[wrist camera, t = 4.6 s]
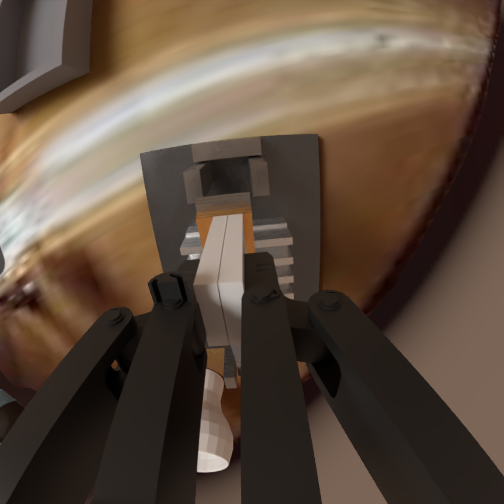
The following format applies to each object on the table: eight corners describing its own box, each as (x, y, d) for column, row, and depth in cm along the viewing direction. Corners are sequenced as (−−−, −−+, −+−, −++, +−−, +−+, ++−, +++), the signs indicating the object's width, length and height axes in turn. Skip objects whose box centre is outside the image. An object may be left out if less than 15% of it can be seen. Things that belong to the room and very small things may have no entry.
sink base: (314, 332, 37) (330, 381, 28) (187, 343, 37) (178, 394, 28) (314, 134, 26) (347, 135, 18) (143, 152, 26) (104, 163, 18)
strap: (263, 362, 31) (265, 376, 29) (238, 364, 31) (239, 378, 29) (248, 187, 15) (251, 205, 14) (197, 193, 15) (194, 211, 14)
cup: (230, 360, 38) (229, 449, 25) (234, 399, 43) (235, 474, 29) (162, 359, 38) (142, 442, 24) (175, 397, 43) (164, 469, 29)
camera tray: (13, 112, 22) (-19, 116, 16) (24, -2, 13) (1, -10, 7) (92, 73, 22) (61, 64, 16) (102, -45, 13) (83, -64, 7)
